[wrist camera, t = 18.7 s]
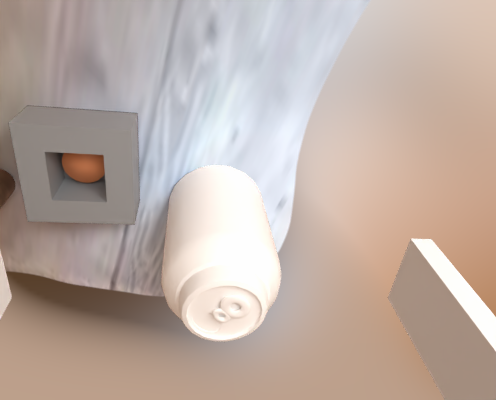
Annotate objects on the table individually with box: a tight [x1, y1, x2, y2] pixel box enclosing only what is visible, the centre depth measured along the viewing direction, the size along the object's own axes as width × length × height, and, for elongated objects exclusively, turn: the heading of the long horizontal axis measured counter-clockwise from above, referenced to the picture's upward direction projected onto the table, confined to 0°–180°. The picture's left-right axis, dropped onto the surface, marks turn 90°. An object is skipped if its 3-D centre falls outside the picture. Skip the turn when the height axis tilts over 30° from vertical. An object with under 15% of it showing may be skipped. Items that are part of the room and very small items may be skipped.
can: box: [161, 165, 281, 341], centre depth 47 cm, size 12×12×20 cm
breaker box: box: [9, 106, 140, 225], centre depth 47 cm, size 12×12×6 cm
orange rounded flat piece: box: [62, 153, 105, 183], centre depth 49 cm, size 5×5×2 cm
